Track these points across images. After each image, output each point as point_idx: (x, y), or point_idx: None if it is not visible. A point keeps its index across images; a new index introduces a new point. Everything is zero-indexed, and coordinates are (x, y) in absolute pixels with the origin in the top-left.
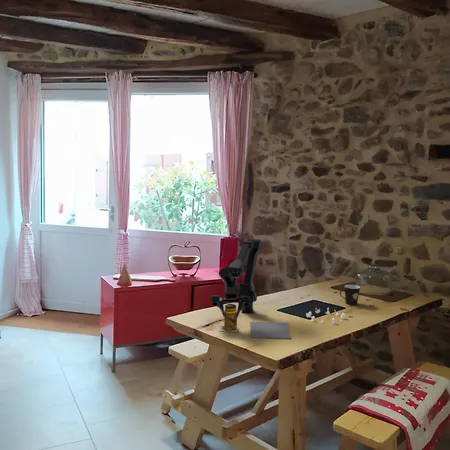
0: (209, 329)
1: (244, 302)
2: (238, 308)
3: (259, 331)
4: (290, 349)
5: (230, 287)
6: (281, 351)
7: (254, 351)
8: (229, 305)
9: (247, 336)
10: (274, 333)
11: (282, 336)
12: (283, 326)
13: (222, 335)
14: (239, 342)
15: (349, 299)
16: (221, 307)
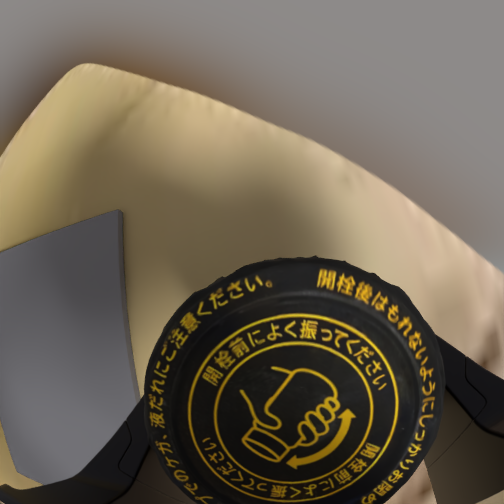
0: (450, 304)
1: (7, 485)
2: (140, 436)
3: (77, 324)
4: (17, 150)
5: None
6: (43, 119)
7: (127, 72)
8: (333, 410)
9: (144, 233)
10: (21, 303)
11: (3, 265)
12: (8, 418)
13: (324, 200)
14: (188, 123)
15: None
16: (485, 374)
